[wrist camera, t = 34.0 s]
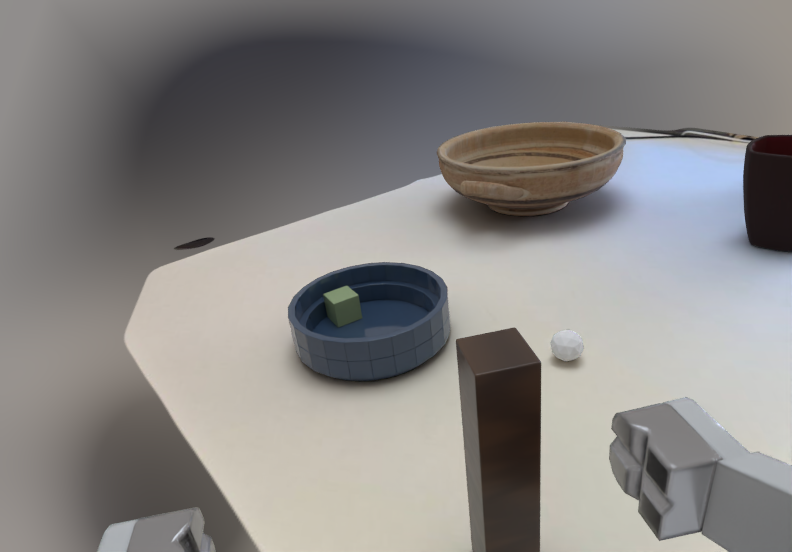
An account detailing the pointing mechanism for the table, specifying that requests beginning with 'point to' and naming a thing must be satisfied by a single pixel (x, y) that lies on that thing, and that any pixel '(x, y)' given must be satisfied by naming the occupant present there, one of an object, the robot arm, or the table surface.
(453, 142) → the ceramic bowl
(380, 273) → the bowl
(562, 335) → the polyhedron
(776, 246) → the mug
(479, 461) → the stick
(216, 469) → the table surface
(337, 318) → the block
